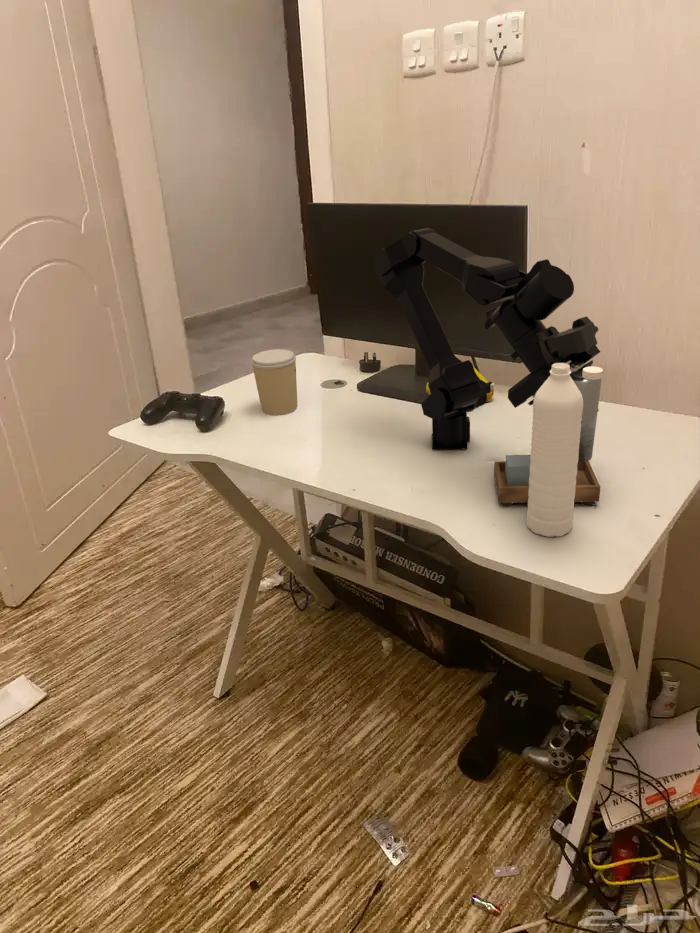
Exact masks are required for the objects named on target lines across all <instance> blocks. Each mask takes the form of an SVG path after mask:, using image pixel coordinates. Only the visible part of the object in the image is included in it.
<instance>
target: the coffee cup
mask: <svg viewBox="0 0 700 933" xmlns="http://www.w3.org/2000/svg"><path fill="white" fill-rule="evenodd" d="M296 361H297V357H296V355H295V353H294V352H293V351H292V350H288V349H284V348H283V349H282V348H281V349H279V348H277V349H275V348H274V349H267V350H263V351H259V352H258V353H256V354H254V355H253V356H252V359H251V366H252V370H253V374H254V380H255V383H256V389H257V393H258V398H259V402H260V404H259V405H260V407H261V411H262V413H263V414H265V415H269V416H273V417H275V416H276V417H277V416H285V415H289V414H291V413H293V412H295V411H296V410H297V408H298V386H297V365H296Z"/></svg>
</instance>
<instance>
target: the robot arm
mask: <svg viewBox="0 0 700 933" xmlns="http://www.w3.org/2000/svg"><path fill="white" fill-rule="evenodd" d="M426 262H427V263H428V264H430V265H431V266H433V267H435V268H437V269H439V270H440V271H442V272H443V273H445V274H447V275H449V276H451V277H452V278H454V279H456V280H457V281H459V283H461V285H462V289H463V292H465V294H467V296H469V297H470V298H471V299H472V300H474V302H475V303H476V304H478V305H481V306H486V305H490V304H491V305H492V304H494V303H497V302H498V303H499V302H502V301H503V302H502V303H501V304H500V305H499V306H498V307H493V308H491V309H489V310H488V311H487V310H486V312H485V316H486V317H485V321H484V329H485V330H490V329H491V328H493V327H495V326H496V328H497V329H498V330H499V332H500V333H501V335H502V336H503V338H505V340H506V342H508V344H509V345H510V347H511V348H512V349H513V352H512V353H511V354H510V357H511V358H512V360H513V361H515V360H517V359H520V361H521V362H522V363H523V365H524V366H525V368H526V369H527V371H528V372H529V373H528V374H527V375H526V376H525V377H523V378H522V379H521V380H519V381H518V382H517V383H515V384H514V385H513V386H511V387H510V388H509V389H508V390H507V399H508V401H509V402H510V403H511V405H512V406H513V407H514V408H515V409H516V408H518V407H520V406H521V405H522V404H524V403H525V402H527V401H528V400H529V399H530V398H531V397H532V399H531V400H530V401H529V402H528V403H527V405H529V406H533V401H534V397H535V394H536V392H537V391H538V390H539V388H540V387H541V386H542V385H543V383H544V382H545V381H546V380H547V379H548V377H549V376H550V375H551V373H550V370H551V368H552V365H553V364H555V363H566V364H568V365H569V366H570V368H569V369H570V371H571V372H573V371H583V368H585V367H590V366H592V365H593V364H594V360H593V358H594V357H596V356H597V355H598V354H600V353H601V350H600V349H599V348H598V346H597V345H598V340H597V337H596V335H597V332H598V331H599V327H598V326H596V325H595V324H594V321H592V320H591V319H590V318H589V317H588V316H587V315H586V316H583V317H580V318H577V319H575V320H574V321H572V324H571V328H567V329H566V330H563V331H561V332H559V330H558V329H557V328H556V327H555V326H552V325H550V326H549V327H546V325H545V324H544V323H543V321H544V320H546V319H547V318H549V317H550V316H551V315H552V314H553V313H554V312H555V311H556V310H558V308H560V307H561V306H562V305H563V304H564V303H565V302H567V301H568V300H569V299H570V298H571V297H572V296H573V295H574V292H575V285H574V282H573V279H572V277H571V276H570V275H569V274H568V273H566V271H564V270H563V269H562V268H560V267H558V266H555V265H552V264H551V262H550V260H549V259H548V258H546V259H542V260H538V261H537V262H535V263H534V264H533V265H532V267H531V269H530V270H529V271H528V272H526V271H523V270H522V269H520V268H519V266H518V265H517V264H516V263H514V262H513V261H511V260H507V259H504V258H500V257H491V256H482V255H479V254H476V253H474V252H472V251H470V250H469V249H467V248H465V247H463V246H461V245H459V244H458V243H456V242H454V241H452V240H450V239H448V238H446V237H444V236H443V235H441V234H439V233H437V231H436V230H435V229H432V228H431V227H426V228H421V229H416V230H411V231H409V232H408V233H406V234H405V235H403V236H402V238H401V239H398V240H397V241H395V242H393V243H392V244H390V245H388V246H387V247H384V248H381V249H378V250H377V251H376V253H375V255H374V258H373V260H372V269H373V272H374V274H375V276H376V278H377V280H378V281H379V282H380V285H381V286H382V288H383V289H384V290H386V291H387V292H388V293H390V294H391V295H392V296H394V297H395V298H396V299H397V300H398V302H399V304H400V307H401V309H402V311H403V313H404V315H405V317H406V319H407V322H408V324H409V326H410V328H411V330H412V333H413V336H415V339H416V341H417V344H418V346H419V348H420V350H421V353H422V355H423V357H424V359H425V361H426V363H427V365H428V368H429V376H428V382H427V383H428V387H429V390H430V393H431V394H430V395H429V396H428V395H427V397H426V399H425V400H423V402H421V409H422V412H423V415H424V416H426V417H428V418H430V419H431V423H432V424H431V425H432V426H431V427H432V429H431V430H432V433H431V450H432V451H443V450H444V451H447V450H449V451H451V450H452V451H453V450H455V451H456V450H468V448H469V447H468V446H469V445H468V443H470V442H471V418H470V417H469V416H468V413H467V412H469V411H475V410H476V408H477V407H476V404H477V401H478V399H479V397H480V392H481V386H480V383H479V380H480V378H479V377H478V376H477V374H476V373H475V370H474V368H475V367H474V365H473V363H472V362H471V360H468V359H467V360H465V361H462V360H461V359H459V358H458V357H457V356H456V355H455V353H454V350H453V348H452V347H451V344H450V341H449V340H448V338H447V336H446V334H445V331H444V329H443V327H442V325H441V323H440V321H439V318H438V316H437V314H436V311H435V310H434V308H433V305H432V303H431V301H430V298H429V297H428V295H427V292H426V290H425V288H424V285H423V284H424V275H425V267H424V265H423V264H424V263H426ZM513 298H514V299H513ZM591 359H592V360H591ZM599 411H600V410H599V408H598V412H599ZM581 424H582V421H581Z"/></svg>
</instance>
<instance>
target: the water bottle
mask: <svg viewBox="0 0 700 933" xmlns="http://www.w3.org/2000/svg"><path fill="white" fill-rule="evenodd" d="M569 368H570V366H569V365H568V364H566V363H555V364H553V365H552V368H551V370H550V373H551V375H550V376H549V377H548V379H547V380H546V381H545V382H544V383H543V385H542V386H541V387H540V388H539V390H538V391H537V392H536V394H535V397H534V398H533V399H534V401H533V405H532V427H531V430H532V431H531V444H530V446H531V448H530V454H529V455H530V461H531V463H530V477H529V491H528V496H529V498H528V502H527V513H526V525H527V527H528V529H529V530H530V531H531V532H532V533H534V534H536V535H542V536H543V537H547V538H548V537H549V538H553V537H562V536H564V535H566V534H569V533H570V531H571V530H572V529H573V519H574V508H575V502H574V498H575V486H576V476H577V464H578V454H579V442H580V431H581V420H582V411H583V397H582V394H581V392H580V391H579V389H578V387H577V386H576V384H575V383H574V381H573V380H572V378H571V377H570V373H571V371H570V369H569ZM603 374H604V370H603V368H602V367H599V366H592V365H591V366H590V367H585V368H583V373H582V377H584V378H586V379H591V380H596V379H600V378H603V376H604V375H603ZM586 376H587V377H586ZM600 376H601V377H600ZM591 377H592V378H591ZM593 377H596V378H593Z"/></svg>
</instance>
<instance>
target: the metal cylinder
mask: <svg viewBox="0 0 700 933" xmlns="http://www.w3.org/2000/svg"><path fill="white" fill-rule="evenodd" d="M582 373H583V371H573V372H571V373H570V377H571V378H572V380H573V381H574V383H575V384H576V386H577V387H578V389H579V391H580V392H581V394H582V397H583V411H582V420H581V421H582V424H581V431H580V442H579V454H578V463H583V462H587V461H589V462H590V461H591V460H592V458H593V453H594V452H593V451H594V445H595V443H594V442H595V436H596V428H597V420H598V412H599V411H598V409H599V404H600V395H601V386H602V380H603V379H602V378H603V377H602V378H600V379H596V380H591V379H586V378H584V377H582ZM586 377H587V376H586ZM600 377H601V376H600ZM591 378H592V377H591ZM593 378H596V377H593Z"/></svg>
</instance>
